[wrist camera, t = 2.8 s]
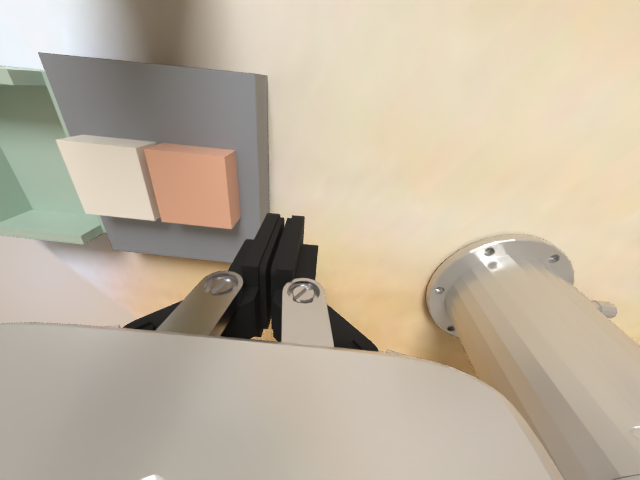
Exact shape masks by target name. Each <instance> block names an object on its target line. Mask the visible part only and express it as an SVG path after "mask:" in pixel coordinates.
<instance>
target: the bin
mask: <svg viewBox="0 0 640 480" xmlns="http://www.w3.org/2000/svg"><path fill="white" fill-rule="evenodd" d="M67 137H70V135H69V133H68V130H67V128H66V125H65V122H64V120H63V117H62V114H61V112H60V109H59V106H58V104H57V101H56V99H55V96H54V93H53V91H52V88H51V85H50V83H49V80H48V78H47V75H46V72H45V70H37V69H27V68H16V67H6V66H0V235H1V236H11V237H19V238H28V239H37V240H46V241H56V242H65V243H74V244H83V245H84V244H86V243H88V242H89V241H91V240H93V239H94V238H96V237H97V236H99V235H101V234H102V233H106V230H105V228H104V225H103V222H102V220H101V217H100V215H94V214H86V213H85V211H84V208H83V206H82V203H81V201H80V199H79V196H78V194H77V191H76V189H75V186H74V184H73V181H72V179H71V177H70V174H69V172H68V169H67V167H66V164H65V162H64V159H63V157H62V155H61V152H60V150H59V147H58V145H57V142H56V139H62V138H67Z"/></svg>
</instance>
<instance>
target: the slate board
mask: <svg viewBox="0 0 640 480" xmlns="http://www.w3.org/2000/svg"><path fill="white" fill-rule="evenodd" d="M38 54H39V56H40V59H41V62H42V64H43V67H44V70H45V72H46V75H47V78H48V80H49V83H50V85H51V88H52V91H53V93H54V96H55V99H56V101H57V104H58V106H59V109H60V112H61V114H62V117H63V120H64V122H65V125H66V128H67V130H68V133H69V135H70V137H73V136H78V135H92V136H101V137H111V138H121V139H131V140H140V141H150V142H156V145H157V144H160V143H170V144H179V145H189V146H199V147H209V148H218V149H228V150H236V161H237V173H238V186H239V199H240V212H241V218H240V219H239V220H238V221H237V223H236V224H235V225H234V227H233V228H232V229H225V228H216V227H206V226H197V225H188V224H178V223H169V222H162V221H161V217H160V218H158V219H157V220H156V221H150V220H141V219H131V218H122V217H113V216H103V215H100V217H101V220H102V222H103V225H104V228H105V230H106V233H107V235H108V238H109V241H110V243H111V246H112V249H113V250H118V251H127V252H136V253H145V254H154V255H164V256H173V257H182V258H191V259H200V260H210V261H219V262H228V263H232V262H233V261H234V259H235V257H236V255H237V253H238V252H239V250H240V248H241V246H242V245H243V243H244V241H245V240H246V239H253V240H254V238H255V236H256V234H257V232H258V230H259V228H260V226H261V224H262V222H263V220H264V218H265V216H266V214H267V213H269V159H268V94H267V76H266V75H260V74H253V73H243V72H233V71H223V70H212V69H202V68H192V67H182V66H172V65H162V64H151V63H141V62H131V61H121V60H111V59H101V58H90V57H80V56H70V55H60V54H50V53H40V52H38Z"/></svg>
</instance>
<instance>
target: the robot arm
mask: <svg viewBox="0 0 640 480" xmlns="http://www.w3.org/2000/svg"><path fill="white" fill-rule="evenodd" d="M304 219H305V217H304V216H293V215H292V218H287V221H286V224H285V227H284V218H281V217H280V214H272V213H267V214H266V216H265V218H264V220H263V222H262V224H261V226H260V228H259V230H258V232H257V234H256V236H255V238H254V240H253V239H246V240H245V241H244V243H243V245H242V246H241V248H240V250H239V252H238V253H237V255H236V257H235V259H234V261H233V262H232V264H231V266H230V268H229V270H228V271H218V272H215V273H212V274H210V275H208V276H206V277H205V278H204V279H202V280H201V281H200V282H199V284H198V285H197V286H196V287H195V288H194V289H193V290H192V291H191V292H190V293H189V294H188V296H187V297H186V298H185V299H184V300H183V301H180V302H178V303H175V304H173V305H171V306H168V307H166V308H163V309H161V310H159V311H156V312H154V313H151V314H149V315H147V316H144V317H142V318H139V319H137V320H135V321H133V322H131V323H129V324H127V325H126V326H124V327H123V328H121V327H120V325H115V326H104V327H103V326H91V325H77V324H57V323H37V322H33V323H32V322H30V323H3V324H0V480H640V345H638V344H637V343H636V342H635V341H634V340H633V339H631V338H630V337H629V336H628V335H627V334H626V333H625V332H623V331H622V330H621V329H620V328H619V327H618V326H616V325H615V324H614V323H613V322H612V321H611V320H609V319H608V318H613V317H615V316H616V314H617V309H616V307H615V306H614V304H612V303H610V302H602V301H591V300H590V299H588V298H587V297H586V296H585V295H584V294H583V293H581V292H580V291H579V290H578V289H577V288H576V287H574V286H573V284H574V270H573V267H572V264H571V262H570V260H569V259H568V257H567V256H566V255H565V254H564V253H563V252H562V251H561V250H559V249H558V248H557V247H555V246H554V245H553V244H551V243H549V242H547V241H545V240H544V239H540V238H537V237H534V236H529V235H520V234H511V235H500V236H495V237H490V238H486V239H483V240H480V241H477V242H474V243H472V244H470V245H468V246H466V247H464V248H462V249H460V250H459V251H457V252H456V253H454V254H453V255H451V256H450V257H449V258H447V259H446V260H445V261H444V262H443V263H442V264H441V265H440V266H439V267H438V269H437V270H436V271H435V273H434V274H433V276H432V277H431V280H430V282H429V284H428V287H427V292H426V304H427V307H428V310H429V313H430V315H431V317H432V319H433V321H434V322H435V323H436V324H437V325H438V326H439V327H440V328H441V329H442V330H444V331H445V332H447V333H449V334H451V335H453V336H455V337H459V339H460V341H461V343H462V345H463V347H464V350H465V352H466V354H467V356H468V358H469V360H470V362H471V364H472V366H473V368H474V371H475V373H476V375H477V377H478V378H476V377H474V376H472V375H470V374H467V373H465V372H463V371H460V370H458V369H456V368H453V367H451V366H447V365H444V364H441V363H438V362H435V361H431V360H427V359H422V358H418V357H413V356H408V355H405V354H401V353H398V352H394V351H391V350H388V349H387V351H386V352H382V351H379V350H378V349H377V347H376V346H375V345H374V344H373V343H372V342H371V341H370V340H369V339H368V338H366V337H365V336H364V335H363V334H362V333H360V332H359V331H358V330H357V329H356V328H354V327H353V326H352V325H351V324H350V323H349V322H347V321H346V320H345V319H344V318H343V317H341V316H340V315H339V314H338V313H337V312H335V311H334V310H333V309H332V308H331V307H329V306H328V305H327V303H326V297H325V292H324V289H323V287H322V286H321V285H320V283H318V282H316V281H315V276H316V264H317V253H318V245H307V244H303V237H304ZM270 320H271V324H272V329H273V337H274V338H275V339H276V340H277V341H278V342H275V341H265V340H254V339H251V338H252V337H261V336H262V332H263V329H268V327H269V324H270Z"/></svg>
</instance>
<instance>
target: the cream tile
mask: <svg viewBox="0 0 640 480" xmlns="http://www.w3.org/2000/svg"><path fill="white" fill-rule="evenodd" d="M56 142H57V145H58V147H59V150H60V152H61V155H62V157H63V159H64V162H65V164H66V167H67V169H68V172H69V174H70V177H71V179H72V181H73V184H74V186H75V189H76V191H77V194H78V196H79V199H80V201H81V203H82V206H83V208H84V211H85V213H86V214H94V215H103V216H113V217H122V218H131V219H141V220H150V221H156V220H157V219H158V218H160V213H159V209H158V205H157V201H156V197H155V193H154V189H153V185H152V181H151V177H150V173H149V169H148V165H147V161H146V157H145V153H144V148H147V147H151V146H154V145H156V142H150V141H140V140H131V139H121V138H111V137H101V136H92V135H78V136H73V137H67V138H62V139H56Z"/></svg>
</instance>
